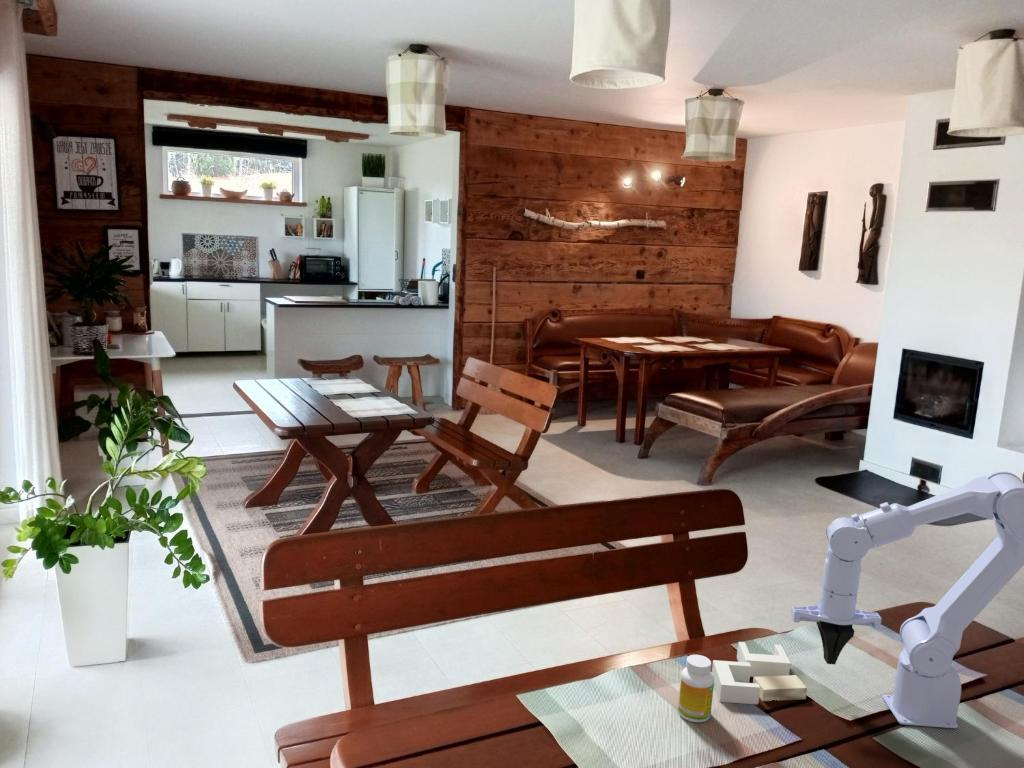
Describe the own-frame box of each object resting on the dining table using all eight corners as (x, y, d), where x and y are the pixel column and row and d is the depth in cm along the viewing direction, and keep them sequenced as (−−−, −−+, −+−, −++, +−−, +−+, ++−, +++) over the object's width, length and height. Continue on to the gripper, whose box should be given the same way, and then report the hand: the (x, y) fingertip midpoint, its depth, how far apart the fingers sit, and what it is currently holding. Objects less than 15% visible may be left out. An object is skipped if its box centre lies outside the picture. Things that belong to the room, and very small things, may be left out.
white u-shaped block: (736, 657, 153) (738, 641, 152) (779, 660, 153) (780, 644, 152) (744, 676, 147) (746, 660, 146) (788, 679, 146) (790, 663, 146)
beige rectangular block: (794, 687, 144) (795, 675, 144) (805, 700, 141) (807, 687, 140) (752, 689, 143) (753, 676, 143) (762, 702, 139) (763, 689, 139)
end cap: (747, 678, 146) (749, 662, 145) (758, 704, 138) (760, 687, 138) (711, 676, 146) (713, 660, 146) (719, 701, 138) (721, 684, 138)
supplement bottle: (711, 725, 132) (716, 671, 130) (677, 720, 133) (682, 666, 131) (709, 707, 137) (715, 654, 135) (677, 702, 138) (682, 650, 136)
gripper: (874, 581, 141) (863, 652, 144) (789, 575, 142) (780, 646, 144) (890, 599, 134) (878, 674, 137) (801, 593, 135) (791, 667, 137)
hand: (829, 661), depth 140 cm, fingers closed
